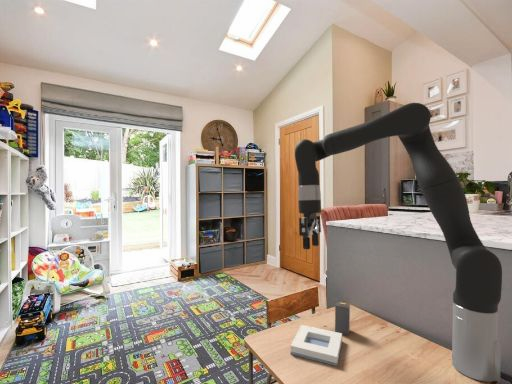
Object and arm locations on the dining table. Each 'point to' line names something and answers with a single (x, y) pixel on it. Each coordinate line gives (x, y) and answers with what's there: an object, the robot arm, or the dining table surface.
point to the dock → (317, 344)
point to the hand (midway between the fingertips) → (311, 247)
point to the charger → (342, 318)
